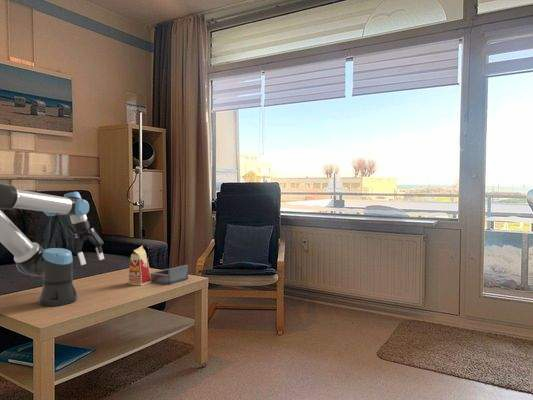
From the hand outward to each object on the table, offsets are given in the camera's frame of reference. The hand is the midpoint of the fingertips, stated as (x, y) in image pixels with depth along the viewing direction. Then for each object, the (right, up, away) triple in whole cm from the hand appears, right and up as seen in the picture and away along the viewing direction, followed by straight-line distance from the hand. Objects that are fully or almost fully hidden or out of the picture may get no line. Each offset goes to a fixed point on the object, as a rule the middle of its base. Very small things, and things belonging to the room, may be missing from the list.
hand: (92, 262), depth 202 cm
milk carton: (+20, -13, +12) cm, 27 cm away
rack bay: (+34, -13, +18) cm, 41 cm away
